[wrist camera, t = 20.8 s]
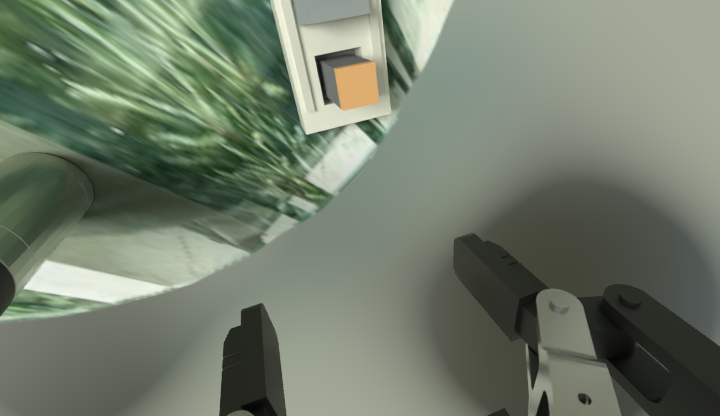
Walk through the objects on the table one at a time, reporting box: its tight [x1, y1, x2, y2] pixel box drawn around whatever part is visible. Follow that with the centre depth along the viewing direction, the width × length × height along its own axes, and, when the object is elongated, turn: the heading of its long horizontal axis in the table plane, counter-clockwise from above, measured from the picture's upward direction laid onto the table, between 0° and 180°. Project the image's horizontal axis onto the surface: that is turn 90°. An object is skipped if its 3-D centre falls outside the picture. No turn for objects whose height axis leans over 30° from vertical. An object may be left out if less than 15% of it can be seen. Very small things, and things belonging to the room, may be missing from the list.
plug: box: [317, 54, 379, 111], centre depth 38 cm, size 4×4×10 cm
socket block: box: [270, 0, 391, 135], centre depth 39 cm, size 12×18×4 cm, turn 9°
